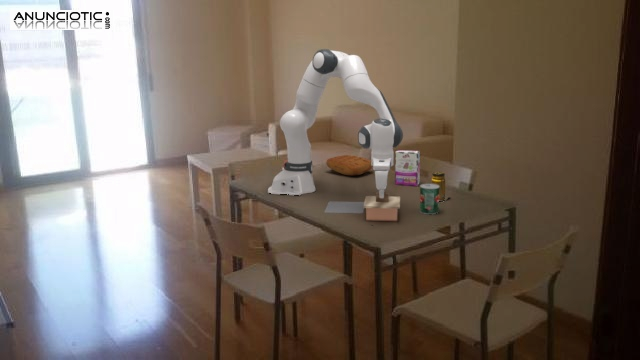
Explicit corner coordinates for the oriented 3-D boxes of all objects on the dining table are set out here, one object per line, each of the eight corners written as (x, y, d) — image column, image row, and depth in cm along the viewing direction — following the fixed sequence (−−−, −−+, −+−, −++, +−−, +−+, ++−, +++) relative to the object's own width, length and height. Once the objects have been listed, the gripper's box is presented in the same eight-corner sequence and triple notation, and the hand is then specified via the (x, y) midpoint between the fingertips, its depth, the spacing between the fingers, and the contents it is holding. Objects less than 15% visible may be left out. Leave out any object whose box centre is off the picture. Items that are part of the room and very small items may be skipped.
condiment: (427, 199, 265) (427, 173, 262) (436, 195, 271) (437, 169, 268) (441, 202, 261) (442, 175, 258) (451, 198, 267) (452, 171, 264)
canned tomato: (442, 213, 246) (443, 187, 243) (424, 215, 244) (425, 189, 241) (433, 207, 253) (434, 182, 250) (416, 209, 251) (416, 184, 248)
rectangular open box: (366, 221, 238) (366, 207, 236) (368, 212, 249) (368, 198, 248) (396, 222, 236) (397, 207, 234) (397, 213, 247) (397, 199, 246)
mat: (324, 213, 249) (324, 212, 249) (329, 202, 264) (329, 201, 264) (362, 214, 247) (362, 213, 246) (365, 203, 262) (365, 202, 262)
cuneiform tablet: (323, 172, 318) (323, 157, 316) (346, 167, 329) (346, 152, 327) (354, 179, 302) (354, 164, 300) (376, 173, 314) (376, 158, 312)
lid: (363, 207, 235) (363, 197, 234) (365, 197, 249) (365, 187, 248) (399, 208, 233) (399, 197, 232) (400, 198, 247) (400, 188, 246)
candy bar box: (419, 183, 291) (420, 150, 287) (417, 186, 287) (418, 152, 282) (397, 182, 295) (397, 149, 291) (394, 184, 291) (394, 151, 287)
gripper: (375, 154, 247) (375, 187, 251) (372, 166, 227) (372, 201, 231) (391, 155, 246) (390, 187, 250) (389, 166, 227) (389, 201, 230)
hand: (382, 194), depth 240 cm, fingers open, 8 cm apart
